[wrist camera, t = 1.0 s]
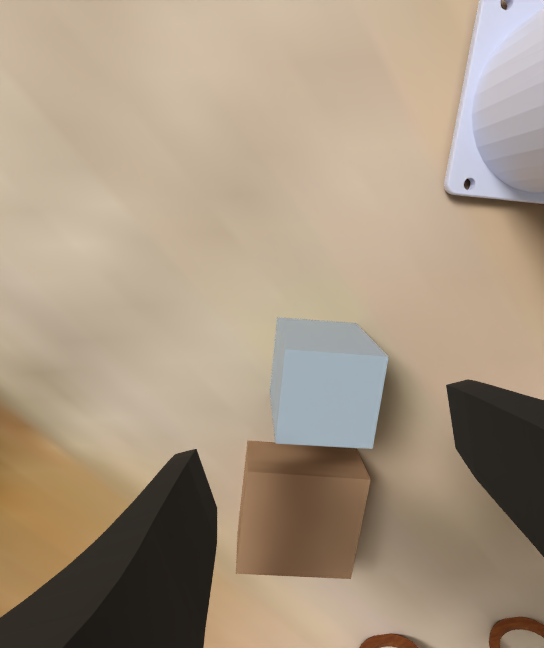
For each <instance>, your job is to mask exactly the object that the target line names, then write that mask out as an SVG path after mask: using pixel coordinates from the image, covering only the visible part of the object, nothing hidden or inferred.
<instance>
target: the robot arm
mask: <svg viewBox="0 0 544 648" xmlns="http://www.w3.org/2000/svg"><path fill="white" fill-rule="evenodd" d="M500 1H501V0H480V1H479V3H478V9H477V14H476V19H475V24H474V30H473V35H472V40H471V45H470V51H469V56H468V61H467V66H466V72H465V77H464V82H463V87H462V93H461V98H460V103H459V108H458V114H457V119H456V124H455V129H454V135H453V140H452V145H451V150H450V156H449V161H448V166H447V171H446V177H445V182H444V187H445V190H446V191H447V192H448V193H449V194H452V195H459V196H469V197H479V198H489V199H499V200H508V201H518V202H528V203H538V204H544V0H504V1H506V3H507V10H504V9H502V7H501V3H500ZM466 179H469V181H470V184H471V185H470V187H469V189H468V190H466V189H465V188H464V182H465V180H466ZM446 387H447V394H448V400H449V407H450V414H451V420H452V427H453V434H454V440H455V447H456V449H457V451H458V453H459V454H460V456H461V457H462V459H463V460H464V462H465V463H466V465H467V466H468V468H469V469H470V471H471V472H472V474H473V475H474V477H475V478H476V479H477V480H478V482H479V483H480V484H481V485H482V486H483V488H484V489H485V490H486V491H487V492H488V493H489V495H490V496H491V497H492V498H493V499H494V500H495V501H496V503H497V504H498V505H499V506H500V507H501V508H502V509H503V511H504V512H505V513H506V514H507V515H508V516H509V517H510V519H511V520H512V521H513V522H514V523H515V524H516V525H517V527H518V528H519V529H520V530H521V531H522V532H523V533H524V535H525V536H526V537H527V538H528V539H529V540H530V541H531V543H532V544H533V545H534V546H535V547H536V548H537V549H538V551H539V552H540V553H541V554H542V556H543V557H544V400H540V399H537V398H533V397H530V396H526V395H523V394H519V393H516V392H513V391H509V390H506V389H502V388H499V387H496V386H492V385H489V384H485V383H481V382H477V381H473V380H464V381H460V382H456V383H452V384H448V385H446ZM216 546H217V506H216V504H215V501H214V498H213V495H212V492H211V489H210V487H209V484H208V481H207V478H206V475H205V472H204V469H203V467H202V464H201V461H200V458H199V455H198V452H197V449H194V450H190V451H186V452H182V453H178V454H175V455H174V456H173V457H172V458H171V459H170V460H169V461H168V462H167V463H166V465H165V466H164V467H163V468H162V469H161V470H160V471H159V473H158V474H157V475H156V476H155V477H154V478H153V480H152V481H151V482H150V483H149V484H148V485H147V487H146V488H145V489H144V490H143V491H142V492H141V493H140V495H139V496H138V497H137V498H136V499H135V500H134V501H133V503H132V504H131V505H130V506H129V507H128V508H127V509H126V510H125V511H124V512H123V513H122V514H121V515H120V516H119V517H118V518H117V519H116V520H115V522H114V523H113V524H112V525H111V526H110V527H109V528H108V529H107V530H106V531H105V532H104V533H103V534H102V535H101V536H100V537H99V538H98V539H97V540H96V541H95V542H94V543H93V544H91V545H90V546H89V547H88V548H87V549H86V550H85V551H84V552H83V553H82V554H80V555H79V556H78V557H77V558H76V559H75V560H74V561H73V562H71V563H70V564H69V565H68V566H67V567H66V568H64V569H63V570H62V571H61V572H59V573H58V574H57V575H56V576H54V577H53V578H52V579H51V580H49V581H48V582H47V583H46V584H44V585H43V586H42V587H41V588H39V589H38V590H37V591H36V592H34V593H33V594H32V595H31V596H29V597H28V598H27V599H25V600H24V601H23V602H21V603H20V604H19V605H17V606H16V607H14V608H13V609H12V610H10V611H9V612H7V613H6V614H5V615H3V616H2V617H1V618H0V648H203V646H204V636H205V627H206V620H207V612H208V605H209V598H210V591H211V584H212V577H213V569H214V562H215V554H216Z"/></svg>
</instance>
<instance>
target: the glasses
mask: <svg viewBox="0 0 544 648" xmlns="http://www.w3.org/2000/svg"><path fill="white" fill-rule="evenodd" d="M515 629H523V630H529V631H532V632H535V633H537V634H539V635H541V636H542V637H543V638H544V625H543V624H541V623H539V622H537V621H535V620H532V619H529V618H524V617H515V618H507V619H503V620H501V621H499V622H498V623H497V624H495V625H494V627H493V628H492V630H491V633H490V638H489V646H490V648H500V639H501V637H502V636H503V635H504V634H505V633H507V632H509V631H511V630H515ZM386 646H392V647H397V648H418V647H417V646H416V645H415V644H414V643H413V642H412V641H410V640H408V639H407V638H405V637H402V636H399V635H396V634H384V635H376V636H373V637H371V638H369V639H367V640H366V641H365V642H364V643H363V644H362V645H361V646H360V648H381V647H386Z"/></svg>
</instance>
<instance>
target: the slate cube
mask: <svg viewBox="0 0 544 648" xmlns="http://www.w3.org/2000/svg"><path fill="white" fill-rule="evenodd" d="M388 358H389V357H388V356H387V355H386V354H385V352H384V351H383V350H382V349H381V348H380V347H379V346H378V345H377V344H376V343H375V342H374V341H373V340H372V339H371V338H370V337H369V336H368V335H367V334H366V333H365V332H364V331H363V330H362V329H361V328H360V327H359V326H358V325H357V324H356V323H345V322H332V321H319V320H306V319H293V318H280V317H277V324H276V334H275V345H274V355H273V365H272V375H271V386H270V397H271V406H272V416H273V425H274V435H275V444H294V445H312V446H330V447H349V448H367V449H373V443H374V438H375V432H376V426H377V420H378V415H379V409H380V403H381V398H382V392H383V386H384V380H385V375H386V369H387V363H388Z"/></svg>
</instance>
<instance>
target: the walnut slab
mask: <svg viewBox="0 0 544 648" xmlns="http://www.w3.org/2000/svg"><path fill="white" fill-rule="evenodd" d="M370 481H371V479H370V477H369V475H368V473H367V470H366V468H365V466H364V464H363V462H362V460H361V457H360V455H359V453H358V451H357V449H355V448H341V447H328V446H312V445H294V444H275V443H273V442H259V441H248V442H247V451H246V461H245V470H244V479H243V488H242V497H241V507H240V516H239V525H238V536H237V561H236V574H256V575H278V576H299V577H321V578H343V579H351V575H352V570H353V565H354V560H355V555H356V550H357V545H358V540H359V535H360V530H361V526H362V521H363V516H364V511H365V506H366V501H367V496H368V491H369V486H370Z"/></svg>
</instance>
